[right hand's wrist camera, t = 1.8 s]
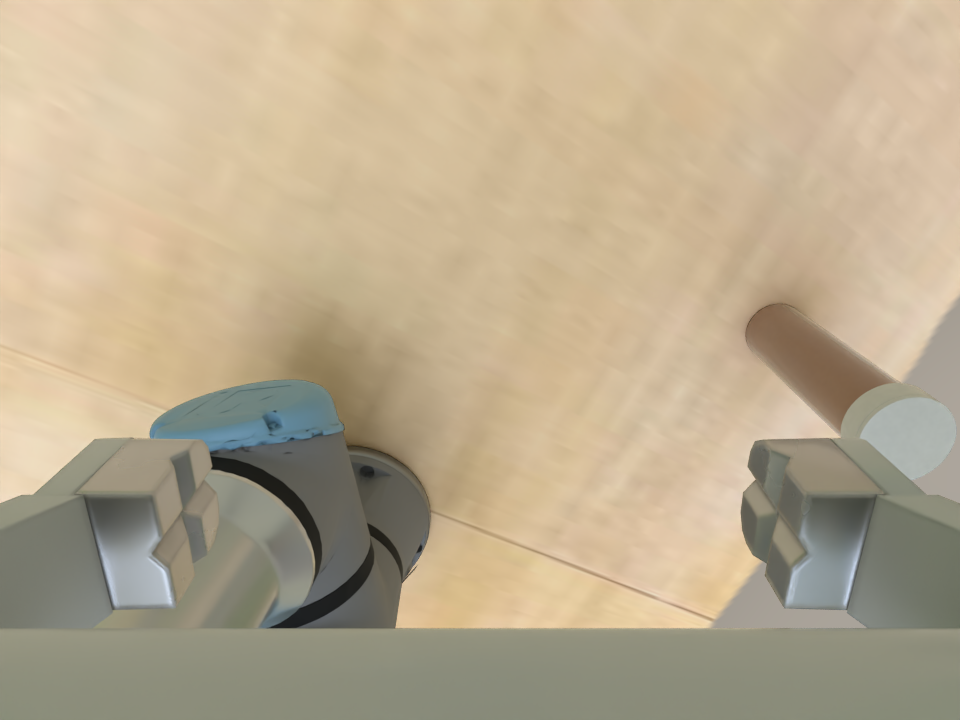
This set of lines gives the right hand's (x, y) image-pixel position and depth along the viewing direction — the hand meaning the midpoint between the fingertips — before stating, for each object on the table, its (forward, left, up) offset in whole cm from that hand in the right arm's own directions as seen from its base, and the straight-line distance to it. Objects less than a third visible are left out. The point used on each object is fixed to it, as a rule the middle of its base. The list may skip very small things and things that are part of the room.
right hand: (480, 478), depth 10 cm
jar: (+15, +26, -48) cm, 57 cm away
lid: (+15, +26, -28) cm, 41 cm away
